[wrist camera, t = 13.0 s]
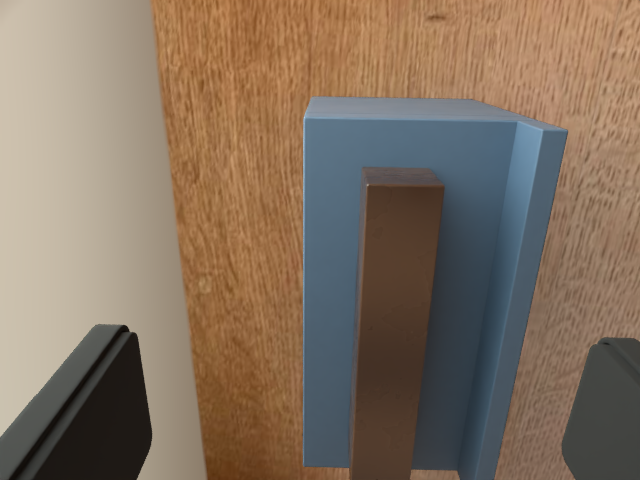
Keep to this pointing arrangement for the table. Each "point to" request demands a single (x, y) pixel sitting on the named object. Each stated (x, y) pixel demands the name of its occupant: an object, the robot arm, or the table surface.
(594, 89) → the table surface
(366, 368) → the stick
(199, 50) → the table surface
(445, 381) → the blue stepped block
